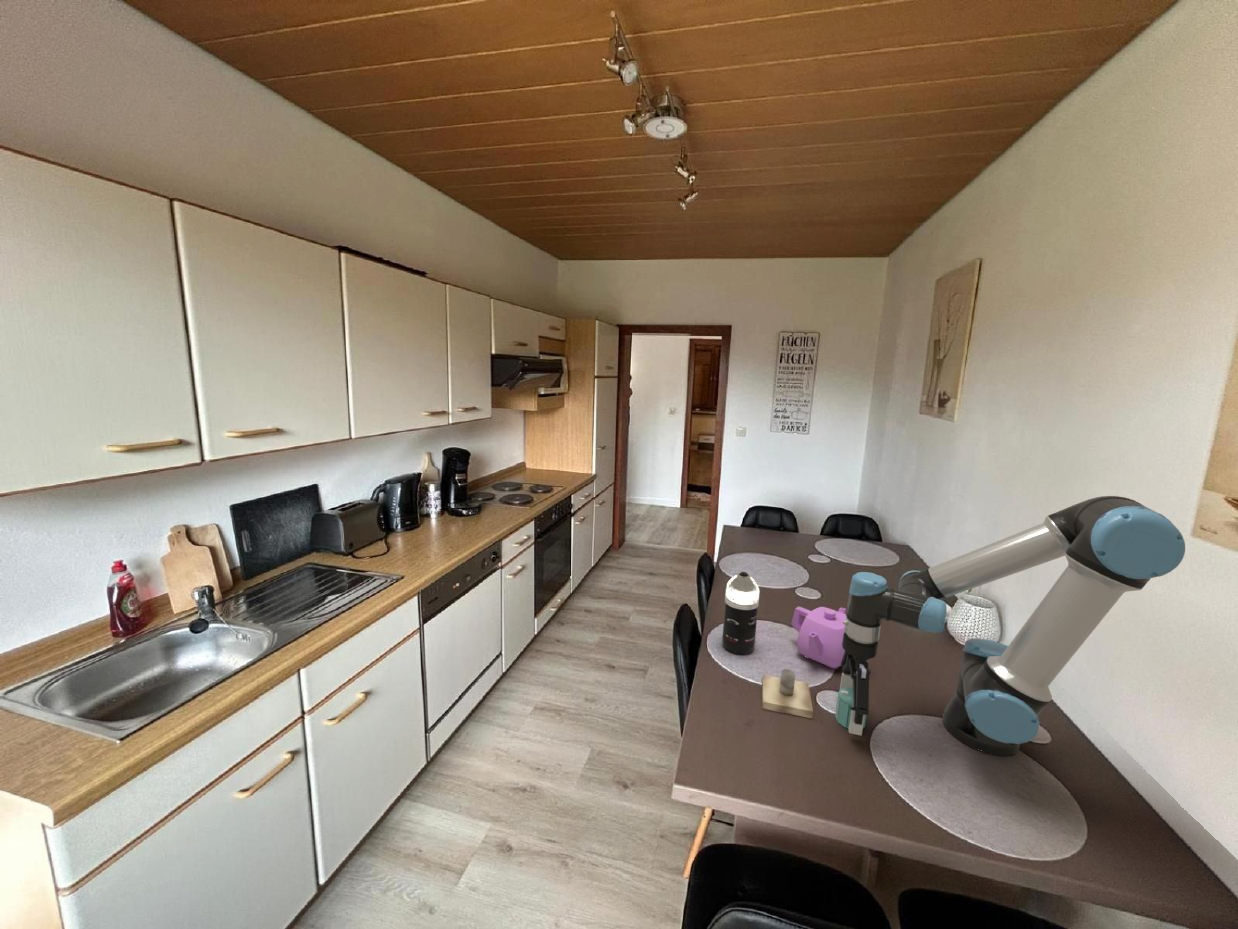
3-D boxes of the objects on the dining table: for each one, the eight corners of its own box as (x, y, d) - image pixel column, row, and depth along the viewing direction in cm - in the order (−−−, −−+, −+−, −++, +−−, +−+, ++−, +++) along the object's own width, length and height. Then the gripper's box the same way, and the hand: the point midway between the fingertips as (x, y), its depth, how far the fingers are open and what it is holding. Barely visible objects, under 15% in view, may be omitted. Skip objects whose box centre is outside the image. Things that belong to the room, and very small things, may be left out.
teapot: (840, 640, 159) (845, 597, 156) (871, 674, 141) (877, 626, 138) (782, 640, 158) (787, 597, 155) (806, 674, 140) (811, 626, 137)
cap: (861, 715, 123) (864, 688, 122) (866, 732, 117) (870, 704, 116) (834, 709, 125) (837, 683, 124) (838, 726, 119) (841, 699, 118)
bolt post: (807, 689, 133) (810, 664, 132) (812, 718, 122) (815, 691, 120) (761, 681, 136) (764, 656, 135) (762, 708, 125) (765, 682, 123)
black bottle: (760, 647, 153) (767, 572, 149) (744, 660, 146) (751, 582, 141) (731, 634, 160) (737, 563, 156) (715, 646, 153) (720, 571, 148)
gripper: (835, 610, 130) (826, 681, 134) (854, 662, 106) (842, 746, 110) (866, 614, 128) (855, 687, 132) (892, 668, 104) (878, 754, 108)
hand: (849, 714), depth 121 cm, fingers open, 13 cm apart
